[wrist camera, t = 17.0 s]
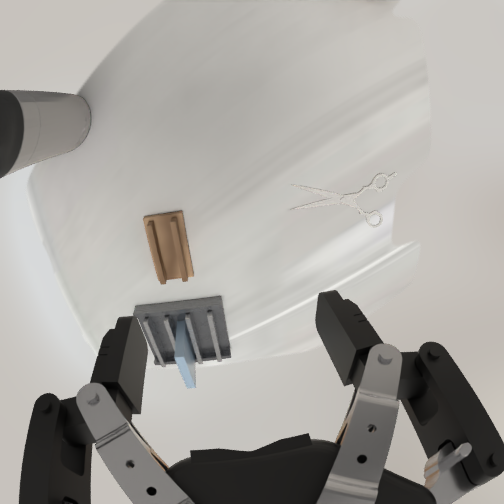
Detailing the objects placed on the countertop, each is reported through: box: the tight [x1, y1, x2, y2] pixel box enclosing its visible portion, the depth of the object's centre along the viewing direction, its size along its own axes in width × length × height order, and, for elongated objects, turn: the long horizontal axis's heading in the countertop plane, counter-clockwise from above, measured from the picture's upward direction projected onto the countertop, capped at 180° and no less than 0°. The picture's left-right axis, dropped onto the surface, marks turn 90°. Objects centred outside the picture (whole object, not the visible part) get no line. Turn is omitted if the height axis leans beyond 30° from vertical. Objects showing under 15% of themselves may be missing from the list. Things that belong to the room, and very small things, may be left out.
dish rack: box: [133, 296, 231, 367], centre depth 49 cm, size 16×14×4 cm
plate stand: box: [143, 211, 194, 284], centre depth 41 cm, size 6×11×3 cm, turn 4°
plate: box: [174, 320, 196, 388], centre depth 46 cm, size 2×9×9 cm, turn 4°
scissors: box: [290, 172, 397, 228], centre depth 43 cm, size 11×1×20 cm
